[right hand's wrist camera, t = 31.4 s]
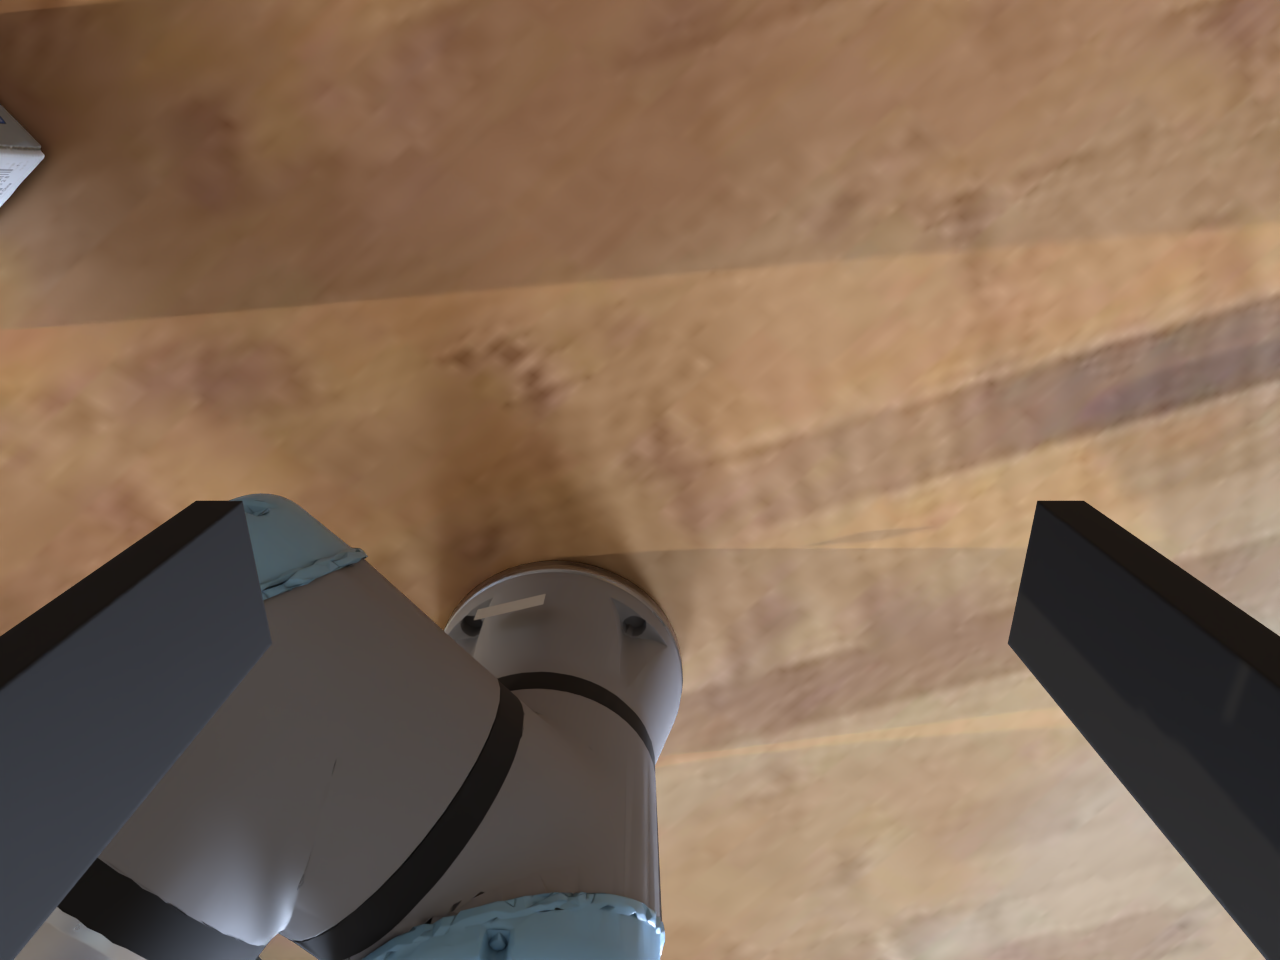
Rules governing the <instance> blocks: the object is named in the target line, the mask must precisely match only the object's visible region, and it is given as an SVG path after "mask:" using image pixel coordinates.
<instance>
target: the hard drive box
mask: <svg viewBox="0 0 1280 960" xmlns="http://www.w3.org/2000/svg"><path fill="white" fill-rule="evenodd" d="M40 148H41V145H40V144H39V143H38V142H37V141H36V140H35V139H34V138H33V137H32V136H31V135H30V134H29V133H28V132H27V131H26V130H25V129H24V128H23V127H22V126H21V125H20V124H19V123H18V122H17V121H16V120H15V119H14V118H13V117H12V116H11V115H10V114H9V113H8V111H7V110H6V109H5V108H4V107H3V106H2V105H1V104H0V207H1V206H2V205H3V204H4V203H5V201H6V200H7V199H8V198H9V197H10V196H11V195H12V194H13V192H14V191H15V190H16V188H17V187H18V186H19V185H20V184H21V183H22V181H23V180H24V179H25V178H26V177H27V176H28V175H29V174H30V173H31V172H32V171H33V170H34V169H35V167H36V166H37V165H38V164H39V163H40V162H41V161H42V160H43V159H44V157H45V155H44V154H43V153H42V152H41V150H40Z"/></svg>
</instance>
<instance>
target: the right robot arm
mask: <svg viewBox="0 0 1280 960" xmlns="http://www.w3.org/2000/svg"><path fill="white" fill-rule="evenodd" d="M366 557H368V556H367V555H366V553H365V552H364V551H363V550H362V549H360V548H351V547H350V546H348V545H347V544H346V543H345V542H343V541H342V540H341V539H340V538H338V537H337V536H336V535H335V534H333V533H332V532H331V531H330V530H328V529H327V528H326V527H325V526H324V525H322V524H321V523H320V522H319V521H317V520H316V519H315V518H314V517H312V516H311V515H310V514H309V513H308V512H306V511H305V510H304V509H303V508H301V507H300V506H299V505H297V504H296V503H294V502H293V501H291V500H289V499H287V498H284V497H281V496H277V495H272V494H250V495H245V496H241V497H238V498H235V499H232V500H229V501H195V502H194V503H192V504H191V505H189V506H188V507H187V508H185V509H184V510H182V511H181V512H179V513H178V514H176V515H175V516H174V517H172V518H171V519H169V520H168V521H166V522H165V523H163V524H162V525H161V526H159V527H158V528H156V529H155V530H153V531H152V532H150V533H149V534H148V535H146V536H145V537H143V538H142V539H140V540H139V541H137V542H136V543H135V544H133V545H132V546H130V547H129V548H127V549H126V550H124V551H123V552H122V553H120V554H119V555H117V556H116V557H114V558H113V559H112V560H110V561H109V562H107V563H106V564H104V565H103V566H101V567H100V568H99V569H97V570H96V571H94V572H93V573H91V574H90V575H88V576H87V577H86V578H84V579H83V580H81V581H80V582H78V583H77V584H75V585H74V586H73V587H71V588H70V589H68V590H67V591H65V592H64V593H62V594H61V595H60V596H58V597H57V598H55V599H54V600H52V601H51V602H49V603H48V604H47V605H45V606H44V607H42V608H41V609H39V610H38V611H36V612H35V613H34V614H32V615H31V616H29V617H28V618H26V619H25V620H23V621H22V622H21V623H19V624H18V625H16V626H15V627H13V628H12V629H10V630H9V631H8V632H6V633H5V634H3V635H2V636H0V960H255V959H256V958H257V957H258V956H259V954H260V953H261V952H262V950H263V949H264V948H265V947H266V945H267V944H268V943H269V941H270V940H271V939H272V938H273V937H274V936H275V935H276V934H278V933H279V934H281V935H282V936H284V937H286V938H288V939H289V940H291V941H293V942H294V943H296V944H297V945H299V946H300V947H301V948H303V949H304V950H306V951H307V952H309V953H310V954H312V955H313V956H315V957H316V958H317V959H318V960H660V956H661V953H662V948H663V946H664V943H665V930H664V925H663V922H662V914H661V891H660V869H659V847H658V824H657V802H656V780H655V764H656V762H657V760H658V757H659V755H660V753H661V751H662V748H663V746H664V744H665V741H666V739H667V737H668V735H669V732H670V730H671V728H672V726H673V723H674V721H675V718H676V715H677V713H678V709H679V704H680V698H681V693H682V683H683V677H682V662H681V654H680V648H679V644H678V641H677V638H676V635H675V633H674V630H673V628H672V626H671V624H670V622H669V620H668V619H667V617H666V616H665V614H664V613H663V611H662V610H661V609H660V608H659V606H658V605H657V604H656V603H655V602H654V601H653V600H652V599H651V598H650V597H649V596H648V595H647V594H646V593H645V592H644V591H642V590H641V589H640V588H639V587H637V586H636V585H634V584H633V583H631V582H630V581H628V580H627V579H625V578H623V577H621V576H619V575H617V574H615V573H612V572H610V571H608V570H605V569H602V568H599V567H596V566H592V565H588V564H583V563H578V562H570V561H542V562H534V563H528V564H524V565H520V566H516V567H513V568H510V569H507V570H505V571H503V572H500V573H498V574H496V575H494V576H492V577H490V578H489V579H487V580H485V581H484V582H482V583H481V584H480V585H478V586H477V587H475V588H474V589H473V590H472V591H471V592H470V593H469V594H468V595H467V596H466V597H465V598H464V599H463V600H462V601H461V602H460V603H459V605H458V606H457V607H456V609H455V610H454V612H453V613H452V615H451V617H450V619H449V620H448V623H447V625H446V627H445V629H444V631H443V630H442V629H441V628H440V627H439V626H438V625H437V624H436V623H434V622H433V621H432V620H431V619H430V618H429V617H428V616H427V615H426V614H424V613H423V612H422V611H421V610H420V609H419V608H418V607H417V606H416V605H415V604H413V603H412V602H411V601H410V600H409V599H408V598H407V597H406V596H405V595H403V594H402V593H401V592H400V591H399V590H398V589H397V588H396V587H395V586H393V585H392V584H391V583H390V582H389V581H388V580H387V579H386V578H385V577H383V576H382V575H381V574H380V573H379V572H378V571H377V570H376V569H375V568H373V567H372V566H371V565H370V564H369V563H368V562H367V561H366V560H365V558H366ZM1008 644H1009V646H1010V647H1011V648H1012V649H1013V650H1014V652H1015V653H1016V654H1017V655H1018V657H1019V658H1020V659H1021V660H1022V661H1023V663H1024V664H1025V665H1026V666H1027V668H1028V669H1029V670H1030V671H1031V672H1032V674H1033V675H1034V676H1035V677H1036V679H1037V680H1038V681H1039V682H1040V683H1041V685H1042V686H1043V687H1044V688H1045V690H1046V691H1047V692H1048V693H1049V694H1050V696H1051V697H1052V698H1053V699H1054V701H1055V702H1056V703H1057V704H1058V705H1059V707H1060V708H1061V709H1062V710H1063V712H1064V713H1065V714H1066V715H1067V717H1068V718H1069V719H1070V720H1071V721H1072V723H1073V724H1074V725H1075V726H1076V728H1077V729H1078V730H1079V731H1080V732H1081V734H1082V735H1083V736H1084V737H1085V739H1086V740H1087V741H1088V742H1089V743H1090V745H1091V746H1092V747H1093V748H1094V750H1095V751H1096V752H1097V753H1098V754H1099V756H1100V757H1101V758H1102V759H1103V761H1104V762H1105V763H1106V764H1107V765H1108V767H1109V768H1110V769H1111V770H1112V772H1113V773H1114V774H1115V775H1116V776H1117V778H1118V779H1119V780H1120V781H1121V783H1122V784H1123V785H1124V786H1125V787H1126V789H1127V790H1128V791H1129V792H1130V794H1131V795H1132V796H1133V797H1134V798H1135V800H1136V801H1137V802H1138V803H1139V805H1140V806H1141V807H1142V808H1143V809H1144V811H1145V812H1146V813H1147V814H1148V816H1149V817H1150V818H1151V819H1152V821H1153V822H1154V823H1155V824H1156V825H1157V827H1158V828H1159V829H1160V830H1161V832H1162V833H1163V834H1164V835H1165V836H1166V838H1167V839H1168V840H1169V841H1170V843H1171V844H1172V845H1173V846H1174V847H1175V849H1176V850H1177V851H1178V852H1179V854H1180V855H1181V856H1182V857H1183V858H1184V860H1185V861H1186V862H1187V863H1188V865H1189V866H1190V867H1191V868H1192V869H1193V871H1194V872H1195V873H1196V874H1197V876H1198V877H1199V878H1200V879H1201V880H1202V882H1203V883H1204V884H1205V885H1206V887H1207V888H1208V889H1209V890H1210V891H1211V893H1212V894H1213V895H1214V896H1215V898H1216V899H1217V900H1218V901H1219V902H1220V904H1221V905H1222V906H1223V907H1224V909H1225V910H1226V911H1227V912H1228V913H1229V915H1230V916H1231V917H1232V918H1233V920H1234V921H1235V922H1236V923H1237V925H1238V926H1239V927H1240V928H1241V929H1242V931H1243V932H1244V933H1245V934H1246V936H1247V937H1248V938H1249V939H1250V940H1251V942H1252V943H1253V944H1254V945H1255V947H1256V948H1257V949H1258V950H1259V951H1260V953H1261V954H1262V955H1263V956H1264V958H1265V959H1266V960H1280V636H1278V635H1277V634H1275V633H1274V632H1272V631H1271V630H1270V629H1268V628H1267V627H1265V626H1264V625H1262V624H1261V623H1259V622H1258V621H1257V620H1255V619H1254V618H1252V617H1251V616H1249V615H1248V614H1246V613H1245V612H1244V611H1242V610H1241V609H1239V608H1238V607H1236V606H1235V605H1233V604H1232V603H1231V602H1229V601H1228V600H1226V599H1225V598H1223V597H1222V596H1220V595H1219V594H1218V593H1216V592H1215V591H1213V590H1212V589H1210V588H1209V587H1207V586H1206V585H1205V584H1203V583H1202V582H1200V581H1199V580H1197V579H1196V578H1194V577H1193V576H1192V575H1190V574H1189V573H1187V572H1186V571H1184V570H1183V569H1181V568H1180V567H1179V566H1177V565H1176V564H1174V563H1173V562H1171V561H1170V560H1168V559H1167V558H1166V557H1164V556H1163V555H1161V554H1160V553H1158V552H1157V551H1155V550H1154V549H1153V548H1151V547H1150V546H1148V545H1147V544H1145V543H1144V542H1143V541H1141V540H1140V539H1138V538H1137V537H1135V536H1134V535H1132V534H1131V533H1130V532H1128V531H1127V530H1125V529H1124V528H1122V527H1121V526H1119V525H1118V524H1117V523H1115V522H1114V521H1112V520H1111V519H1109V518H1108V517H1106V516H1105V515H1104V514H1102V513H1101V512H1099V511H1098V510H1096V509H1095V508H1093V507H1092V506H1091V505H1089V504H1088V503H1086V502H1085V501H1037V505H1036V510H1035V515H1034V520H1033V525H1032V530H1031V534H1030V539H1029V544H1028V549H1027V554H1026V559H1025V563H1024V568H1023V573H1022V578H1021V583H1020V588H1019V592H1018V597H1017V602H1016V607H1015V612H1014V616H1013V621H1012V626H1011V631H1010V636H1009V641H1008Z"/></svg>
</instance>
